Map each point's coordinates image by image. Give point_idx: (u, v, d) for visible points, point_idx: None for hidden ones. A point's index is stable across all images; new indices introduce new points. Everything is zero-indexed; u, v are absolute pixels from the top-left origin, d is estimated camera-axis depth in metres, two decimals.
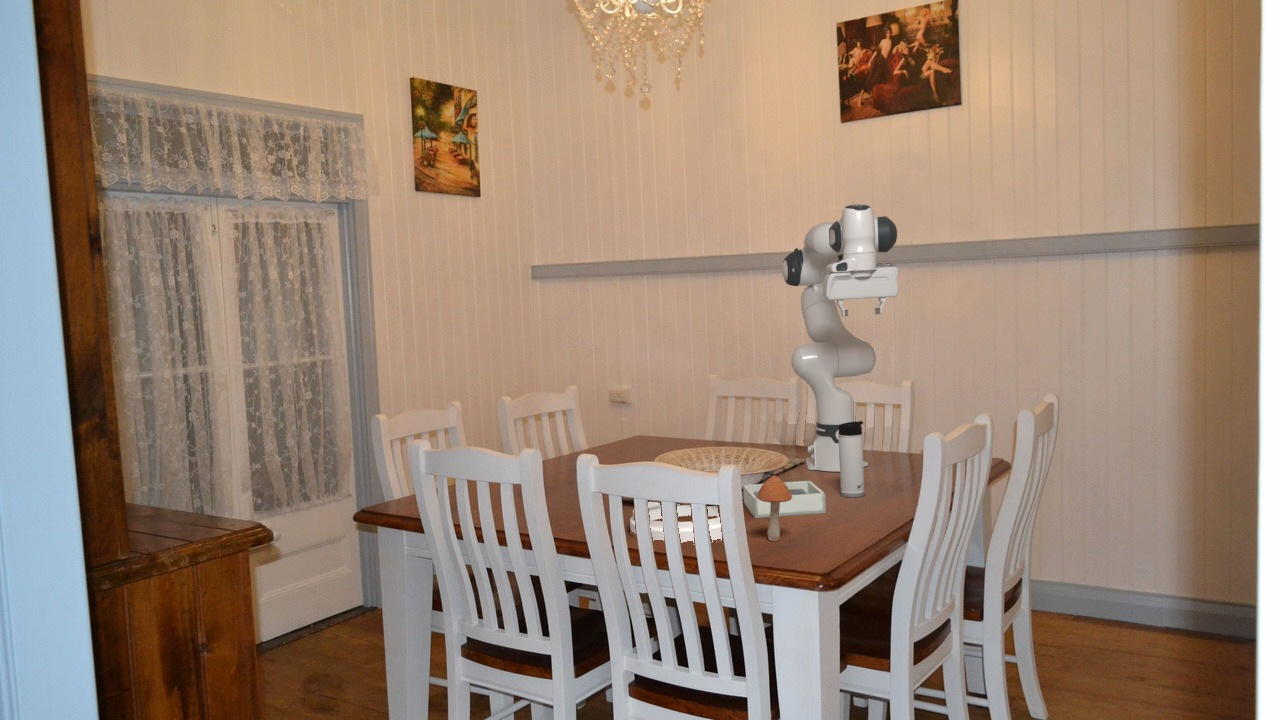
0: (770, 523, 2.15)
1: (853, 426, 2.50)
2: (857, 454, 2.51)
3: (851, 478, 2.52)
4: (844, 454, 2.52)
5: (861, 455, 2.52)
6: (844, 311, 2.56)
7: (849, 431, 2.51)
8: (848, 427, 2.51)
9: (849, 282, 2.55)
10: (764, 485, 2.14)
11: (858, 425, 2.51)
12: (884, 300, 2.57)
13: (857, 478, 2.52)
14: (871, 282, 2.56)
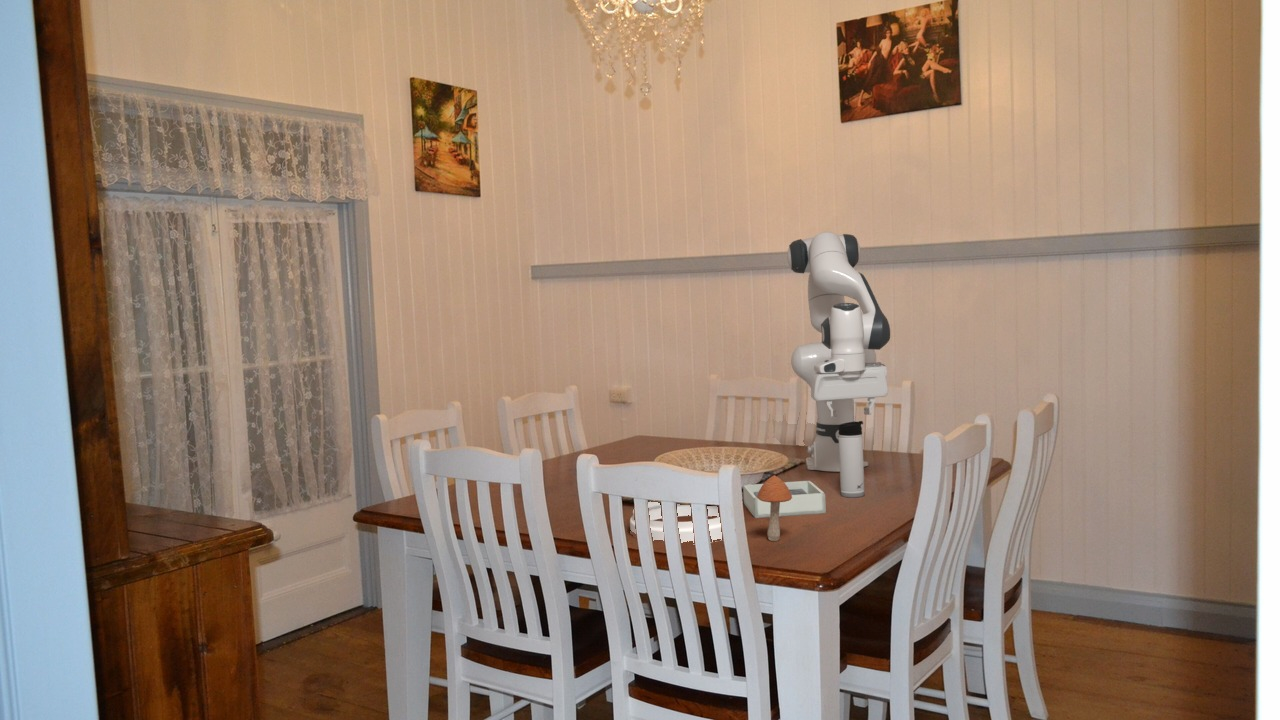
0: (770, 523, 2.15)
1: (853, 426, 2.50)
2: (857, 454, 2.51)
3: (851, 478, 2.52)
4: (844, 454, 2.52)
5: (861, 455, 2.52)
6: (832, 412, 2.52)
7: (849, 431, 2.51)
8: (848, 427, 2.51)
9: (838, 383, 2.51)
10: (764, 485, 2.14)
11: (858, 425, 2.51)
12: (873, 400, 2.52)
13: (857, 478, 2.52)
14: (860, 382, 2.51)
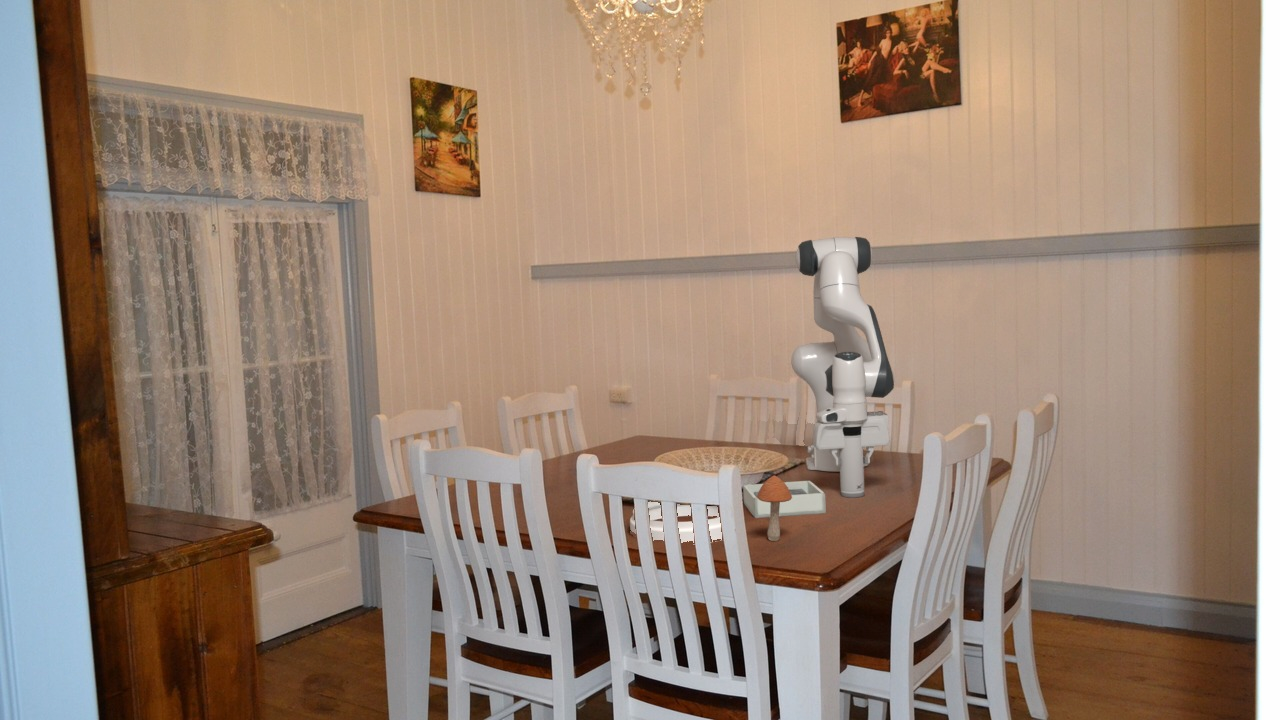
0: (770, 523, 2.15)
1: None
2: (857, 454, 2.51)
3: (851, 478, 2.51)
4: (844, 454, 2.52)
5: (861, 455, 2.52)
6: (838, 460, 2.53)
7: (849, 432, 2.50)
8: (848, 427, 2.50)
9: (839, 432, 2.51)
10: (764, 485, 2.14)
11: None
12: (872, 449, 2.53)
13: (857, 478, 2.52)
14: (862, 431, 2.52)
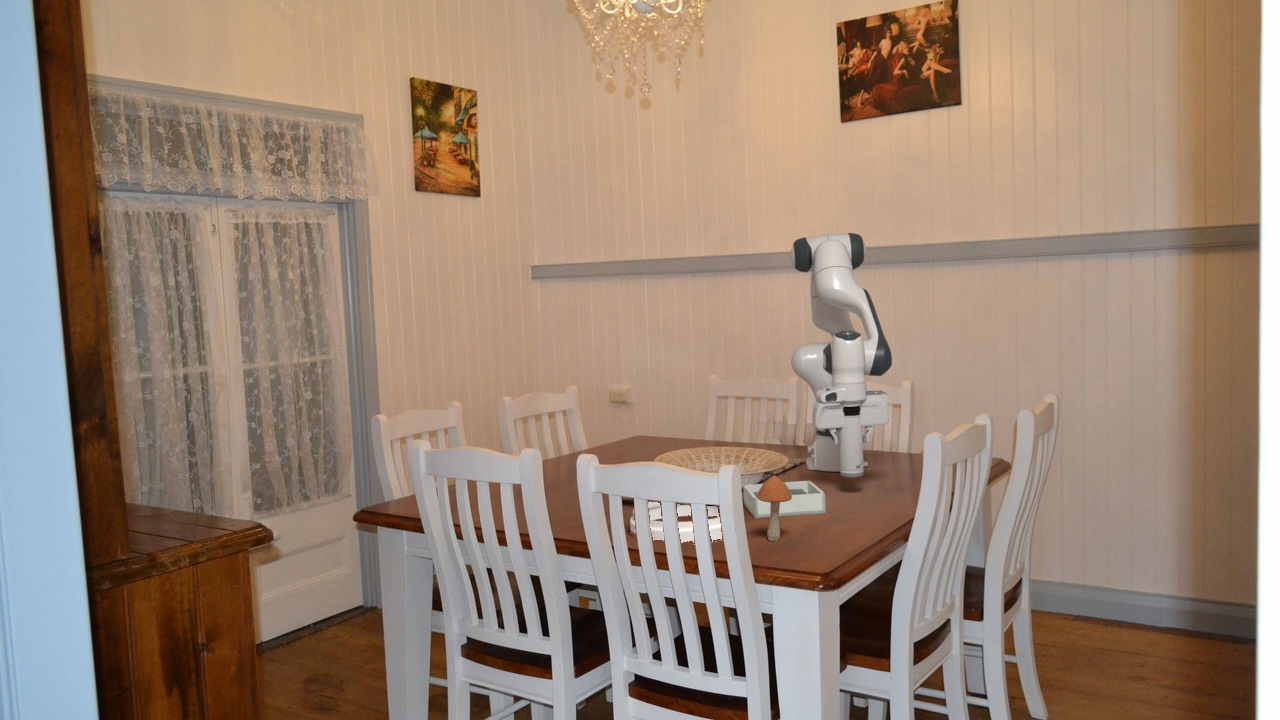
0: (770, 523, 2.15)
1: None
2: (856, 434, 2.52)
3: (850, 458, 2.52)
4: (844, 434, 2.52)
5: (860, 435, 2.52)
6: (837, 439, 2.53)
7: (848, 412, 2.51)
8: (847, 407, 2.51)
9: (839, 411, 2.52)
10: (764, 485, 2.14)
11: None
12: (871, 428, 2.53)
13: (856, 458, 2.52)
14: (861, 411, 2.52)
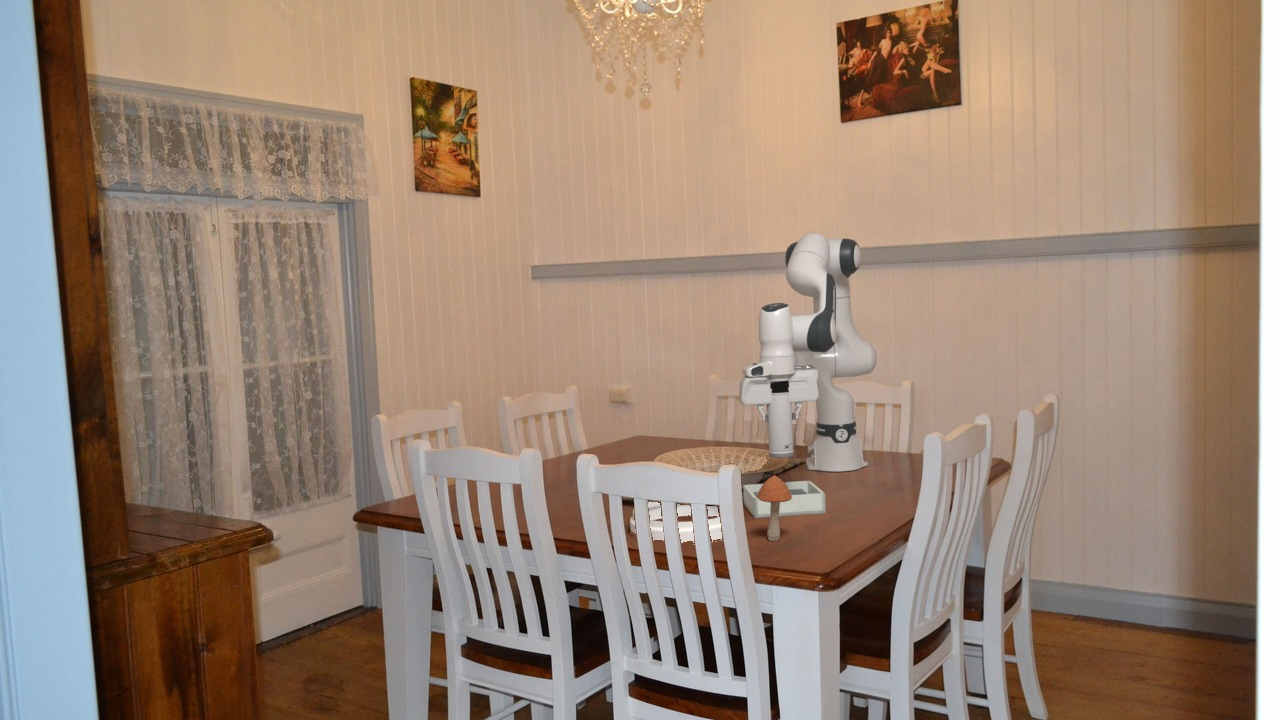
0: (770, 523, 2.15)
1: (780, 383, 2.39)
2: (785, 412, 2.40)
3: (779, 437, 2.40)
4: (771, 412, 2.41)
5: (789, 414, 2.41)
6: (764, 416, 2.42)
7: (776, 388, 2.40)
8: (775, 384, 2.40)
9: (766, 387, 2.40)
10: (764, 485, 2.14)
11: (785, 382, 2.40)
12: (800, 405, 2.42)
13: (785, 437, 2.40)
14: (789, 386, 2.41)
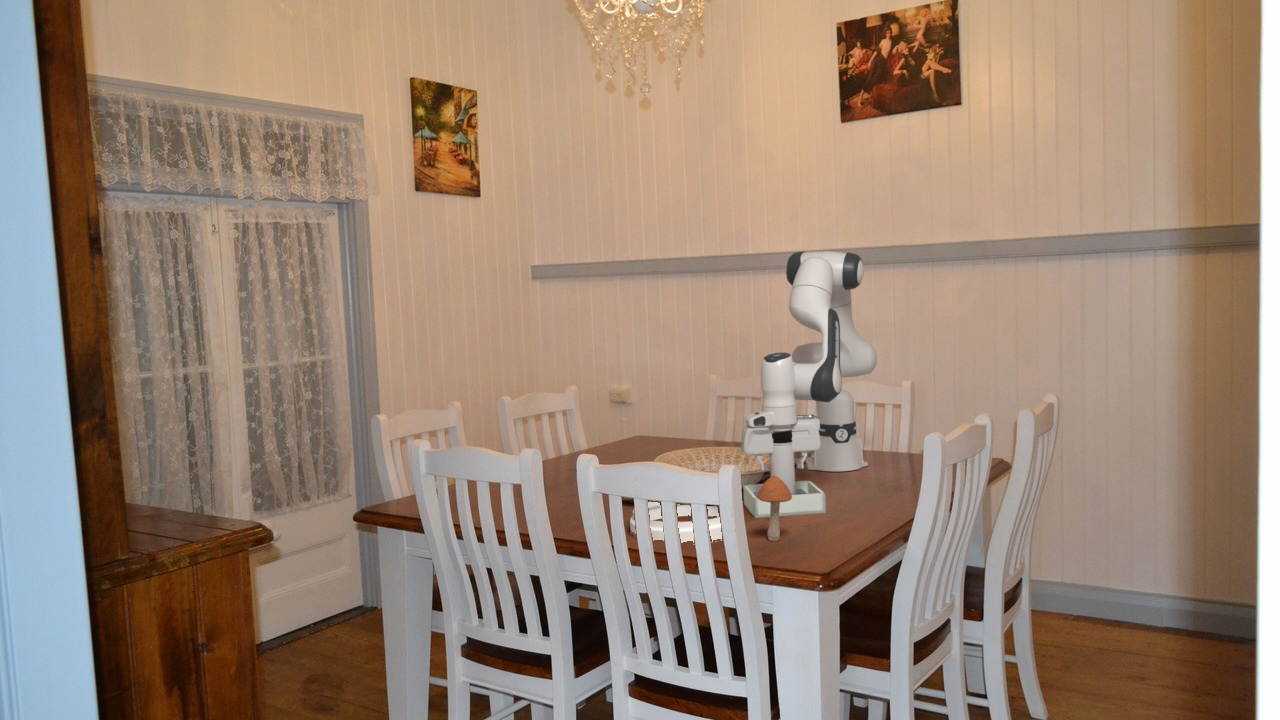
0: (770, 523, 2.15)
1: (783, 433, 2.40)
2: (787, 462, 2.41)
3: None
4: (774, 462, 2.42)
5: (792, 463, 2.42)
6: (763, 466, 2.43)
7: (779, 439, 2.40)
8: (777, 434, 2.40)
9: (768, 436, 2.41)
10: (764, 485, 2.14)
11: (788, 432, 2.41)
12: (805, 454, 2.43)
13: None
14: None
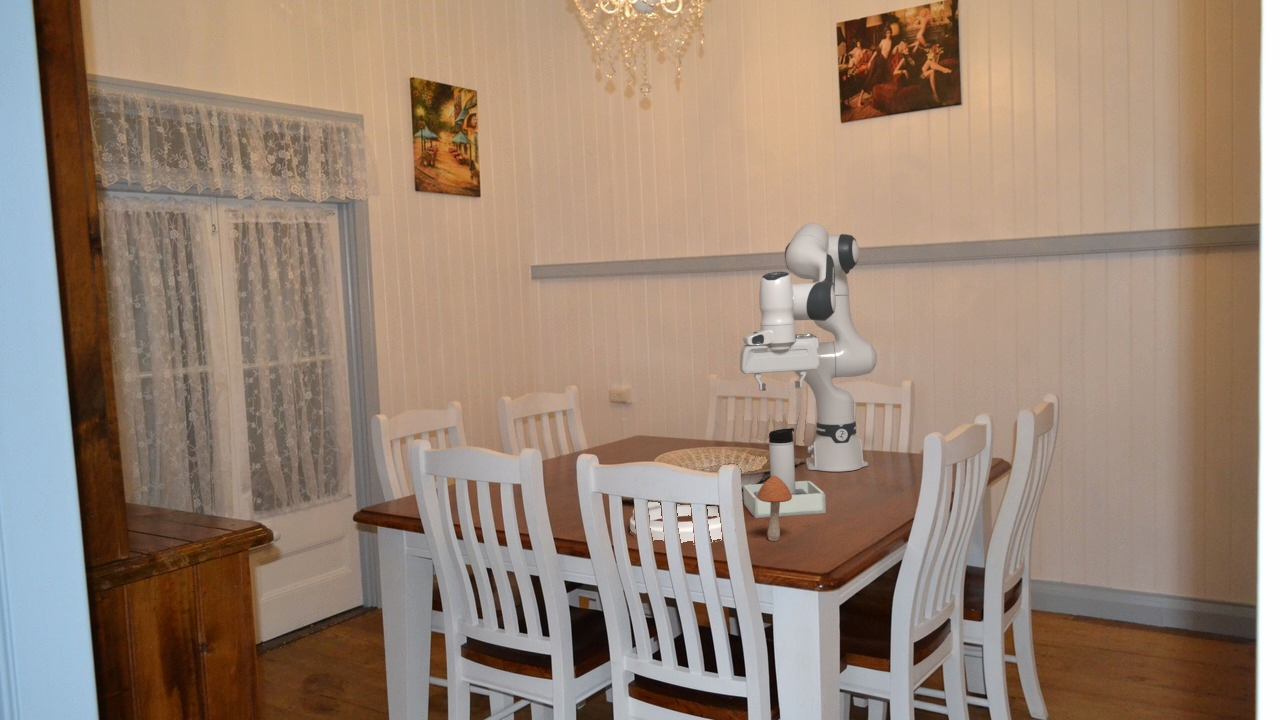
0: (770, 523, 2.15)
1: (783, 433, 2.40)
2: (787, 462, 2.41)
3: None
4: (774, 462, 2.42)
5: (792, 463, 2.42)
6: (761, 385, 2.42)
7: (779, 439, 2.40)
8: (777, 434, 2.40)
9: (767, 355, 2.41)
10: (764, 485, 2.14)
11: (788, 432, 2.41)
12: (804, 373, 2.43)
13: None
14: (790, 355, 2.41)
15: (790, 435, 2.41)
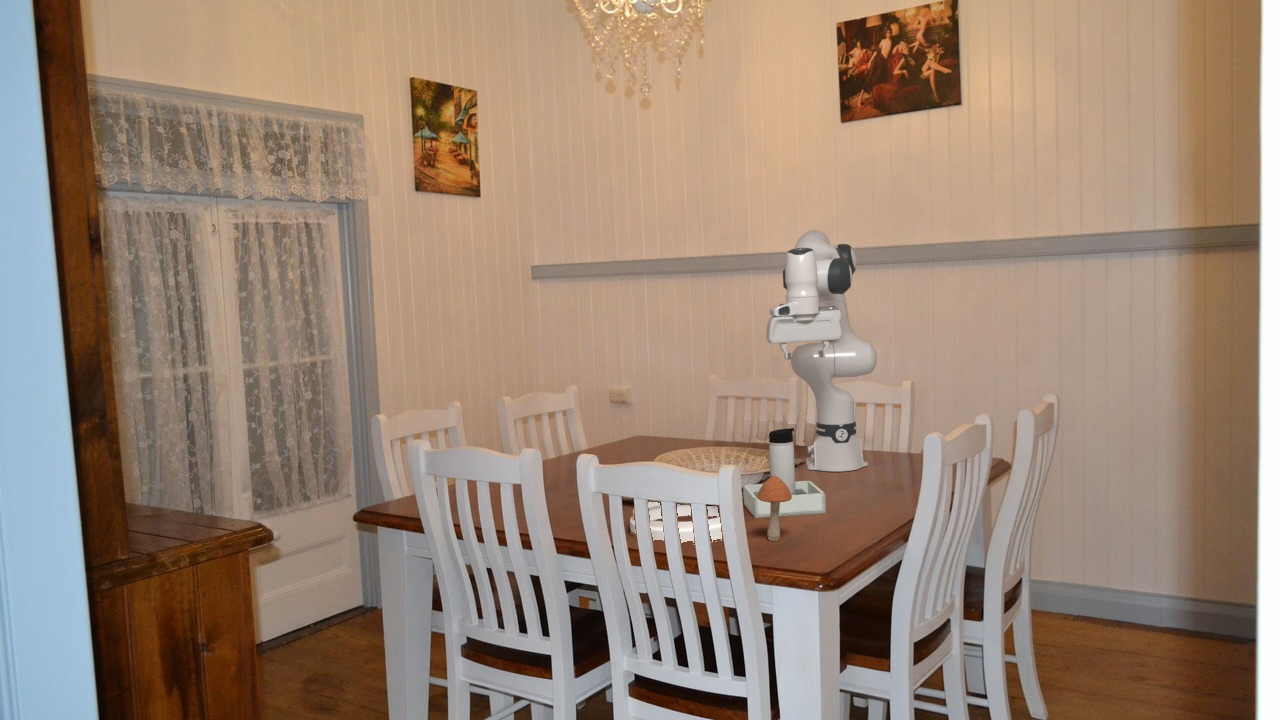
0: (770, 523, 2.15)
1: (783, 433, 2.40)
2: (787, 462, 2.41)
3: None
4: (774, 462, 2.42)
5: (792, 463, 2.42)
6: (787, 354, 2.57)
7: (779, 439, 2.40)
8: (777, 434, 2.40)
9: (792, 326, 2.56)
10: (764, 485, 2.14)
11: (788, 432, 2.41)
12: (827, 343, 2.57)
13: None
14: (814, 325, 2.56)
15: (790, 435, 2.41)
